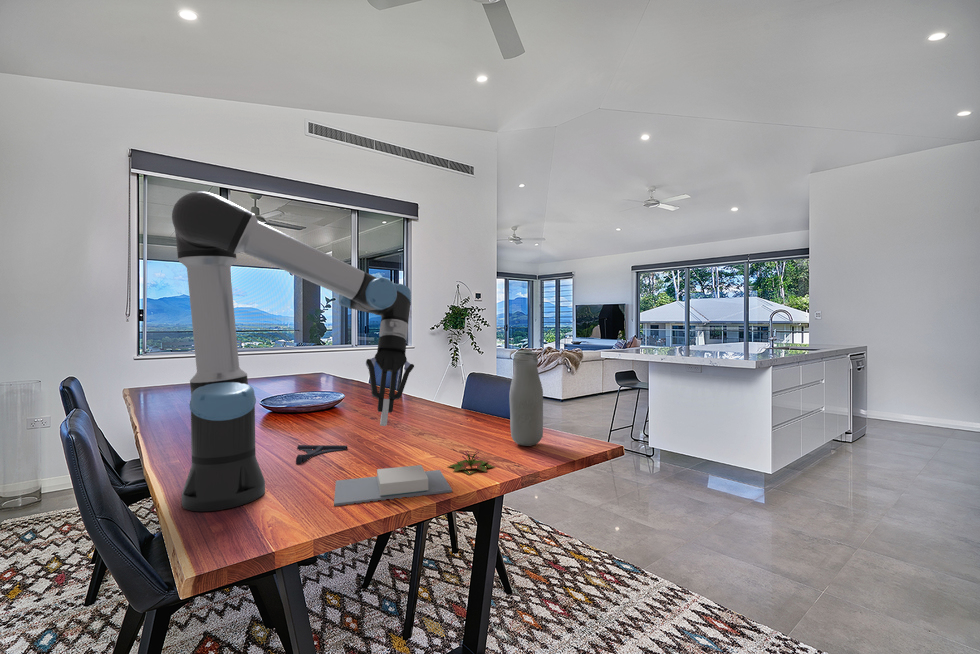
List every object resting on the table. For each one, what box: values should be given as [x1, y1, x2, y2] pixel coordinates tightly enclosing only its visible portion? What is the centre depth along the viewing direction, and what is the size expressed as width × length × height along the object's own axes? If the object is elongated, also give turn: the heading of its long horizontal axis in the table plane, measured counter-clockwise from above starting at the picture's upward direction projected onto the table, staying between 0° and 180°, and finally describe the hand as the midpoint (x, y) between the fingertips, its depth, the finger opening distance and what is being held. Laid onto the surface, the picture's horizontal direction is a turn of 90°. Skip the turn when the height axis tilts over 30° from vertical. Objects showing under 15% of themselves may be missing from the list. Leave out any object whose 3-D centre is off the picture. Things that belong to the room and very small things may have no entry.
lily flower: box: [447, 449, 496, 475], centre depth 115 cm, size 12×12×5 cm
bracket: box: [295, 444, 349, 465], centre depth 127 cm, size 14×15×3 cm
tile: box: [376, 464, 428, 496], centre depth 101 cm, size 10×3×10 cm
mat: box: [333, 469, 453, 507], centre depth 102 cm, size 24×14×1 cm, turn 107°
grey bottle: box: [508, 349, 544, 447], centre depth 136 cm, size 10×10×28 cm
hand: (383, 424), depth 118 cm, fingers closed
